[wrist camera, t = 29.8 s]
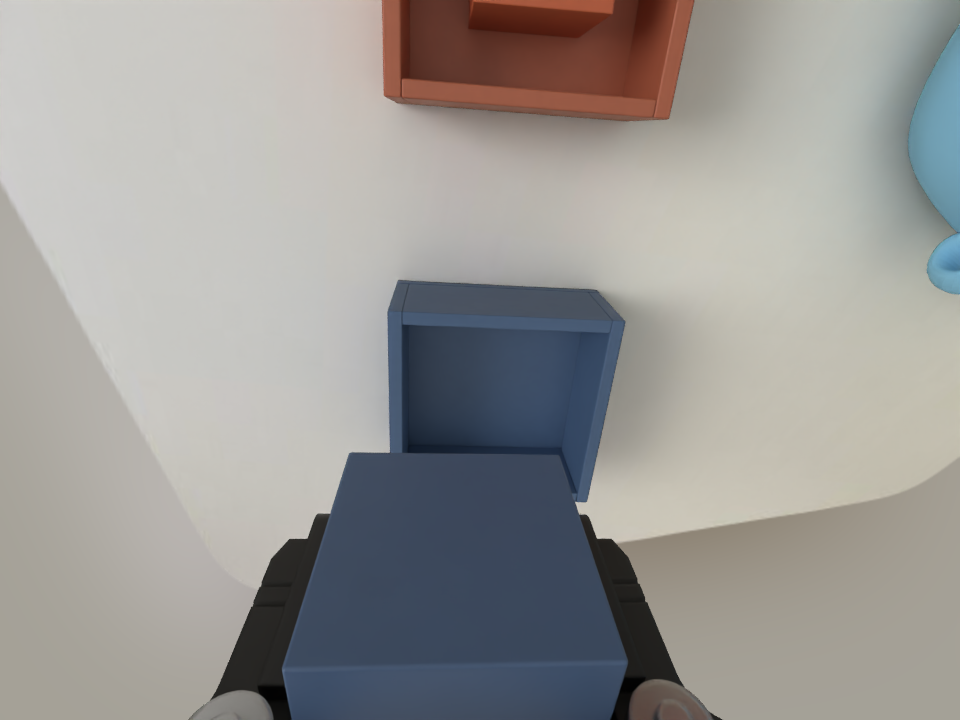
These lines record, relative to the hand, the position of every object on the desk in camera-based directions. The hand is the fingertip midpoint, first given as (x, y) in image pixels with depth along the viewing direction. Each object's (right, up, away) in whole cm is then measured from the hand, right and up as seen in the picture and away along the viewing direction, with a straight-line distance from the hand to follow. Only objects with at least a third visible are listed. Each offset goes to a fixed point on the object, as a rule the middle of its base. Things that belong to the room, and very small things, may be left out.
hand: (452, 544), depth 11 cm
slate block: (0, 0, 0) cm, 0 cm away
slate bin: (+1, +3, +16) cm, 16 cm away
